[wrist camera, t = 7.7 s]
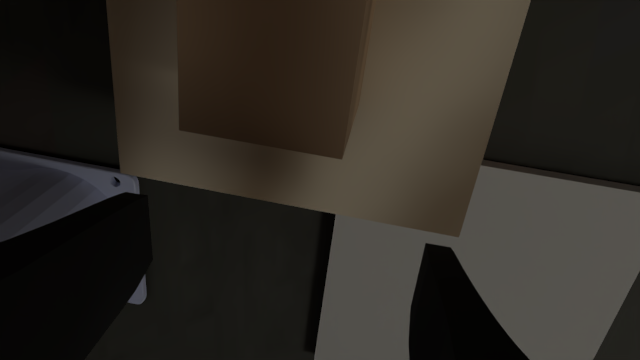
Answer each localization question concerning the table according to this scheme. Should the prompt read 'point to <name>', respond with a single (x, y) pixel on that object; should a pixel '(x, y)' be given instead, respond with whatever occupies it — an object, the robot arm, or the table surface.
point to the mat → (494, 266)
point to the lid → (315, 100)
